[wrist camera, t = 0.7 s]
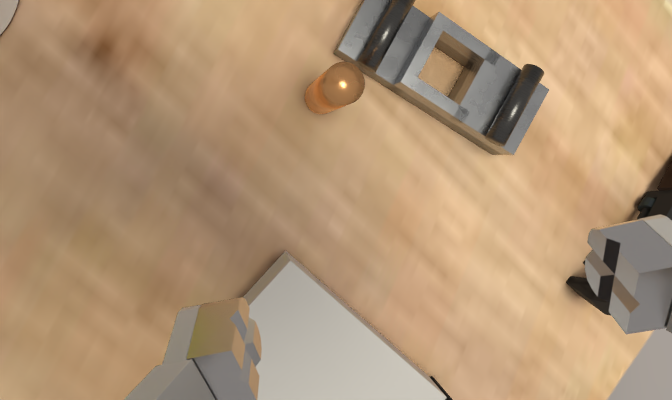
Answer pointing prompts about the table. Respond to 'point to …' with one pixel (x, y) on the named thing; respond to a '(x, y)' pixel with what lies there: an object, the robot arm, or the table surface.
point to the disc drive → (325, 345)
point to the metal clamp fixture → (472, 85)
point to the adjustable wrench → (663, 202)
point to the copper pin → (335, 88)
